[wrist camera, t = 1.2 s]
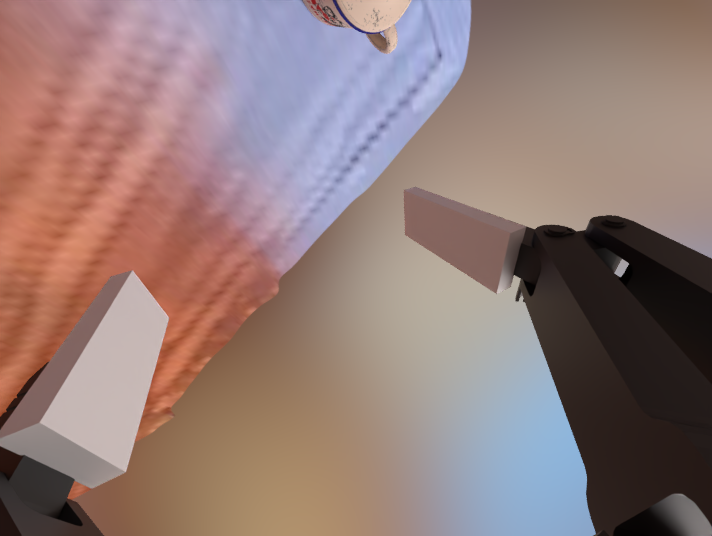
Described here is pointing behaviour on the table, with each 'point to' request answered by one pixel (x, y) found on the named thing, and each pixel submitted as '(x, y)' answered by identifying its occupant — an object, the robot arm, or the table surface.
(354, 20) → the teacup with lid
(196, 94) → the table surface
